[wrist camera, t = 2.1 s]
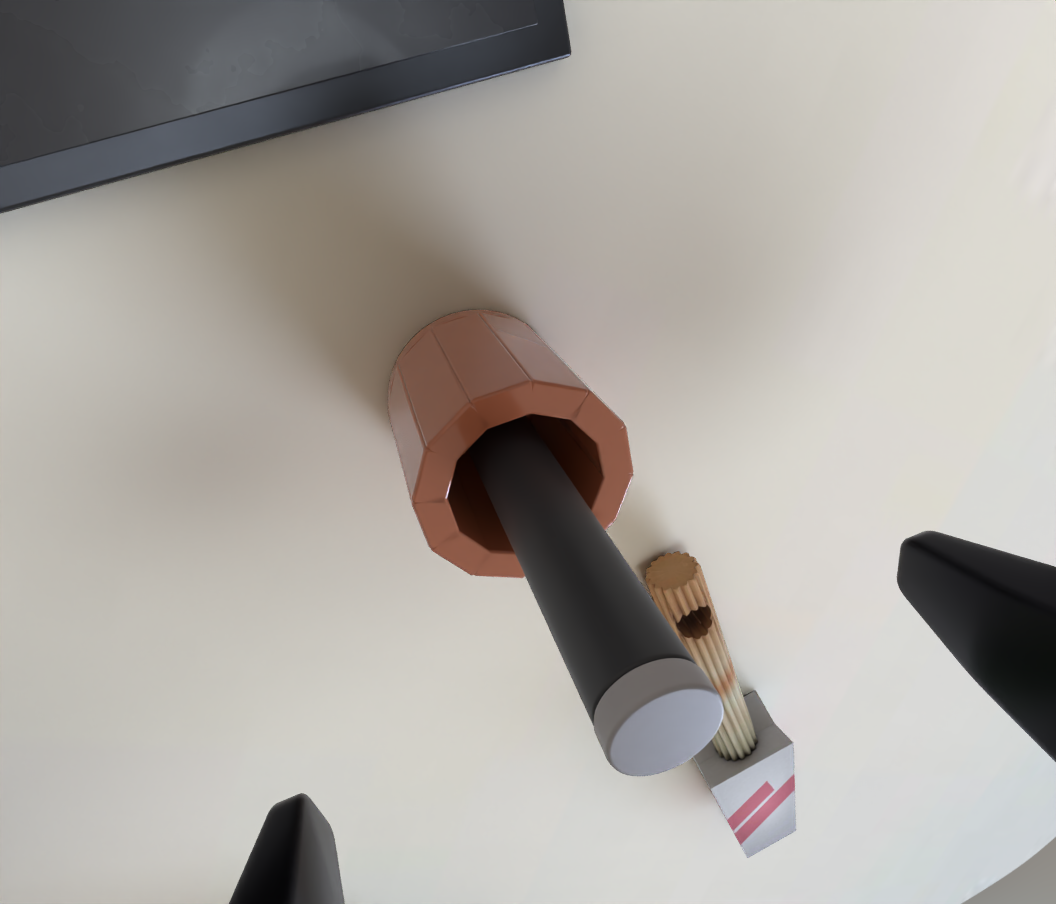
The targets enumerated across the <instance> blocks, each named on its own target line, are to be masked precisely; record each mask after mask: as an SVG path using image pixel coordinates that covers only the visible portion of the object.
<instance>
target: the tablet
mask: <svg viewBox="0 0 1056 904" xmlns="http://www.w3.org/2000/svg"><path fill="white" fill-rule="evenodd" d="M570 55H571V47H570V40H569V34H568V28H567V21H566V15H565V9H564V3H563V0H0V213H4V212H7V211H11V210H15V209H18V208H22V207H26V206H29V205H33V204H36V203H40V202H44V201H47V200H51V199H55V198H58V197H62V196H66V195H69V194H73V193H76V192H80V191H84V190H87V189H91V188H95V187H98V186H102V185H106V184H109V183H113V182H116V181H120V180H124V179H127V178H131V177H135V176H138V175H142V174H146V173H149V172H153V171H156V170H160V169H164V168H167V167H171V166H175V165H178V164H182V163H186V162H189V161H193V160H196V159H200V158H204V157H207V156H211V155H215V154H218V153H222V152H226V151H229V150H233V149H236V148H240V147H244V146H247V145H251V144H255V143H258V142H262V141H266V140H269V139H273V138H276V137H280V136H284V135H287V134H291V133H295V132H298V131H302V130H306V129H309V128H313V127H316V126H320V125H324V124H327V123H331V122H335V121H338V120H342V119H346V118H349V117H353V116H356V115H360V114H364V113H367V112H371V111H375V110H378V109H382V108H386V107H389V106H393V105H396V104H400V103H404V102H407V101H411V100H415V99H418V98H422V97H426V96H429V95H433V94H436V93H440V92H444V91H447V90H451V89H455V88H458V87H462V86H466V85H469V84H473V83H476V82H480V81H484V80H487V79H491V78H495V77H498V76H502V75H505V74H509V73H513V72H516V71H520V70H524V69H527V68H531V67H535V66H538V65H542V64H545V63H549V62H553V61H556V60H560V59H564V58H567V57H569V56H570Z"/></svg>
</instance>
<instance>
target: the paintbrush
mask: <svg viewBox="0 0 1056 904" xmlns="http://www.w3.org/2000/svg"><path fill="white" fill-rule="evenodd" d="M646 574H647V575H646V579H645V580H646V583H647V585H648V588H649V590H650V593H651V595H652V597H653V600H654V602H655V604H656V606H657V607H658V608H659V610H660V611H661V613H662V614H663V616H664V617H665V619H666V620H667V622H668V623H669V624H670V626H671V627H672V629H673V630H674V632H675V633H676V635H677V636H678V638H679V639H680V641H681V642H682V643H683V645H684V646H685V648H686V649H687V651H688V652H689V654H690V655H691V657H692V658H693V659H694V661H695V662H696V664H697V665H698V666H699V667H700V668H701V669H702V670H703V671H704V673H705V674H706V676H707V677H708V679H709V680H710V681H711V683H712V684H713V686H714V687H715V689H716V690H717V692H718V693H719V695H720V696H721V699H722V702H723V708H724V713H723V719H722V722H721V724H720V726H719V729H718V730H717V732H716V734H715V735H714V736H713V738H712V739H711V740H710V742H709V743H708V744H707V745H706V746H705V747H704V748H703V749H702V750H701V751H699V752H698V753H697V754H696V755H694V756H693V759H694V760H695V762H696V764H697V766H698V768H699V770H700V772H701V773H702V775H703V777H704V779H705V781H706V783H707V784H708V786H709V788H710V790H711V792H712V794H713V795H714V797H715V799H716V801H717V803H718V805H719V807H720V808H721V810H722V812H723V814H724V816H725V818H726V819H727V821H728V823H729V825H730V827H731V829H732V830H733V832H734V834H735V836H736V838H737V840H738V842H739V843H740V845H741V847H742V849H743V851H744V853H745V854H746V856H747V858H749V857H750V856H752V855H754V854H756V853H757V852H759V851H761V850H763V849H764V848H766V847H768V846H770V845H771V844H773V843H775V842H777V841H779V840H780V839H782V838H784V837H786V836H787V835H789V834H791V833H793V832H794V831H796V812H795V780H794V748H793V742H792V741H791V740H790V739H789V738H788V737H787V736H786V735H785V734H784V733H783V732H782V731H781V730H780V729H779V728H778V727H777V726H776V725H775V723H774V722H773V720H772V718H771V717H770V715H769V713H768V711H767V710H766V708H765V706H764V704H763V703H762V701H761V699H760V697H759V696H758V694H757V692H756V691H753V692H751V693H750V694H748V695H746V696H744V697H743V695H742V692H741V689H740V686H739V683H738V680H737V677H736V674H735V671H734V668H733V665H732V662H731V659H730V656H729V652H728V649H727V646H726V643H725V640H724V637H723V634H722V631H721V628H720V625H719V622H718V619H717V616H716V613H715V610H714V606H713V603H712V600H711V597H710V594H709V591H708V588H707V585H706V582H705V579H704V576H703V573H702V570H701V567H700V565H699V564H698V563H697V561H696V558H694V557H690V556H689V554H688V553H684V554H680V552H679V551H678V552H675V553H674V554H671V553H667V554H665V556H659V557H658V559H657V560H656V561H653V562H651V567H649V568H648V569H647V570H646Z"/></svg>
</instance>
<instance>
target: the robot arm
mask: <svg viewBox="0 0 1056 904" xmlns="http://www.w3.org/2000/svg"><path fill="white" fill-rule="evenodd" d="M897 582H898V586H899V588H900V590H901V592H902V593H903V595H904V596H905V597H906V599H907V600H908V601H909V602H910V603H911V605H912V606H913V607H914V608H915V610H916V611H917V612H918V613H919V614H920V616H921V617H922V618H923V619H924V620H925V622H926V623H927V624H928V625H929V626H930V628H931V629H932V630H933V631H934V632H935V634H936V635H937V636H938V637H939V638H940V640H941V641H942V642H943V643H944V645H945V646H946V647H947V648H948V649H949V651H950V652H951V653H952V654H953V655H954V657H955V658H956V659H957V660H958V661H959V663H960V664H961V665H962V666H963V667H964V669H965V670H966V671H967V672H968V673H969V674H970V675H971V676H972V678H973V679H974V680H975V681H976V682H977V683H978V684H979V685H980V686H981V687H982V688H983V689H984V690H985V691H986V692H987V694H988V695H989V696H990V697H991V698H992V699H993V700H994V701H995V702H996V703H997V704H998V705H999V706H1000V707H1001V708H1002V709H1003V710H1004V711H1005V712H1006V713H1007V714H1008V715H1009V716H1010V717H1011V718H1012V719H1013V720H1014V721H1015V722H1016V723H1017V724H1018V725H1019V726H1020V727H1021V728H1022V729H1023V730H1024V731H1025V732H1026V733H1027V734H1028V735H1029V736H1030V737H1031V738H1032V739H1033V740H1034V741H1035V742H1036V743H1037V744H1038V745H1039V746H1040V747H1041V748H1042V749H1043V750H1044V751H1045V752H1046V753H1047V754H1048V755H1049V756H1050V757H1051V758H1052V759H1053V760H1054V761H1055V762H1056V567H1054V566H1051V565H1047V564H1044V563H1041V562H1037V561H1034V560H1031V559H1027V558H1024V557H1020V556H1017V555H1014V554H1010V553H1007V552H1004V551H1000V550H997V549H993V548H990V547H987V546H983V545H980V544H976V543H973V542H970V541H966V540H963V539H960V538H956V537H953V536H949V535H946V534H943V533H939V532H935V531H925V532H921V533H919V534H917V535H914V536H912V537H910V538H907V539H905V540H904V541H903V543H902V544H901V548H900V556H899V564H898V572H897ZM229 904H345V903H344V897H343V890H342V884H341V877H340V870H339V864H338V857H337V851H336V844H335V839H334V835H333V832H332V829H331V826H330V824H329V823H328V821H327V820H326V819H325V817H324V816H323V815H322V813H321V812H320V811H319V809H318V808H317V807H316V805H315V804H314V803H313V801H312V800H311V799H310V798H309V797H308V796H307V795H306V794H303V793H301V794H298V795H295V796H293V797H291V798H288V799H286V800H283V801H281V802H279V803H277V804H275V805H274V806H273V807H272V808H271V810H270V811H269V813H268V815H267V817H266V820H265V822H264V824H263V827H262V829H261V831H260V833H259V836H258V838H257V840H256V843H255V845H254V847H253V850H252V852H251V854H250V856H249V859H248V861H247V863H246V866H245V868H244V870H243V873H242V875H241V877H240V879H239V882H238V884H237V886H236V889H235V891H234V893H233V896H232V898H231V900H230V902H229Z"/></svg>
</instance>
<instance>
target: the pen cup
mask: <svg viewBox="0 0 1056 904" xmlns="http://www.w3.org/2000/svg"><path fill="white" fill-rule="evenodd" d="M388 415H389V418H390V422H391V426H392V430H393V434H394V438H395V442H396V446H397V449H398V453H399V457H400V461H401V465H402V469H403V473H404V477H405V480H406V484H407V488H408V492H409V496H410V500H411V504H412V507H413V509H414V512H415V514H416V516H417V519H418V521H419V524H420V526H421V529H422V531H423V534H424V536H425V538H426V541H427V543H428V546H429V547H430V548H431V550H432V551H433V552H435V553H436V554H438V555H440V556H441V557H443V558H444V559H446V560H448V561H449V562H451V563H452V564H454V565H456V566H457V567H459V568H460V569H462V570H464V571H465V572H467V573H468V574H470V575H475V576H490V577H512V578H524V577H526V576H525V574H524V572H523V570H522V568H521V565H520V563H519V561H518V559H517V557H516V555H515V552H514V550H513V548H512V546H511V544H510V541H509V539H508V537H507V535H506V533H505V530H504V528H503V526H502V524H501V522H500V519H499V517H498V515H497V513H496V511H495V508H494V506H493V504H492V502H491V500H490V498H489V495H488V493H487V491H486V489H485V487H484V484H483V482H482V480H481V478H480V476H479V473H478V471H477V469H476V467H475V465H474V462H473V460H472V458H471V456H470V454H469V451H468V449H469V448H470V446H471V445H472V444H473V443H474V442H475V441H476V440H477V439H478V438H479V437H480V436H481V435H482V434H483V433H484V432H485V431H486V430H487V429H489V428H492V427H494V426H497V425H500V424H503V423H506V422H508V421H511V420H514V419H517V418H520V417H523V416H525V415H526V416H527V418H528V419H529V421H530V422H531V424H532V425H533V426H534V428H535V429H536V431H537V432H538V434H539V435H540V437H541V438H542V440H543V441H544V442H545V444H546V445H547V447H548V448H549V450H550V451H551V453H552V454H553V456H554V457H555V459H556V460H557V461H558V463H559V464H560V466H561V467H562V469H563V470H564V472H565V473H566V475H567V476H568V477H569V479H570V480H571V482H572V483H573V485H574V486H575V488H576V489H577V491H578V492H579V493H580V495H581V496H582V498H583V499H584V501H585V502H586V504H587V505H588V507H589V508H590V509H591V511H592V512H593V514H594V515H595V517H596V518H597V520H598V521H599V523H600V524H601V525H602V527H603V528H604V530H606V529H607V528H608V527H609V526H611V525H612V524H613V522H614V521H615V520H616V518H617V515H618V513H619V510H620V508H621V505H622V502H623V500H624V497H625V495H626V492H627V490H628V487H629V485H630V482H631V480H632V477H633V466H632V460H631V454H630V448H629V442H628V435H627V429H626V426H625V425H624V422H623V421H622V420H621V419H620V418H619V417H618V416H617V415H616V414H615V413H614V412H613V411H612V410H611V409H610V408H609V407H608V406H607V405H606V404H605V403H604V402H603V401H602V400H601V398H600V397H599V396H598V395H597V394H596V393H595V392H594V391H593V390H592V389H591V388H590V387H589V386H588V385H587V384H586V383H585V382H584V381H583V380H582V379H581V378H580V377H579V376H578V375H577V374H576V373H575V372H574V371H573V370H572V369H571V368H570V367H569V366H568V365H567V363H566V362H565V361H564V360H563V359H562V358H561V357H560V356H559V355H558V354H557V353H556V352H555V351H554V350H553V349H552V348H551V347H550V346H549V345H548V344H547V343H546V342H545V341H544V340H543V339H542V338H541V337H540V336H539V335H538V334H537V333H536V332H535V331H534V330H533V329H532V328H530V327H529V326H528V325H527V324H526V323H524V322H522V321H520V320H519V319H517V318H514V317H512V316H510V315H508V314H504V313H501V312H497V311H491V310H467V311H461V312H457V313H453V314H450V315H447V316H445V317H442V318H440V319H438V320H436V321H434V322H432V323H431V324H429V325H427V326H426V327H425V328H423V329H422V330H421V331H419V332H418V333H417V334H416V335H415V336H414V337H413V338H412V339H411V340H410V341H409V342H408V344H407V345H406V346H405V347H404V349H403V350H402V352H401V353H400V355H399V357H398V358H397V360H396V363H395V365H394V367H393V370H392V373H391V377H390V380H389V388H388Z"/></svg>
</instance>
